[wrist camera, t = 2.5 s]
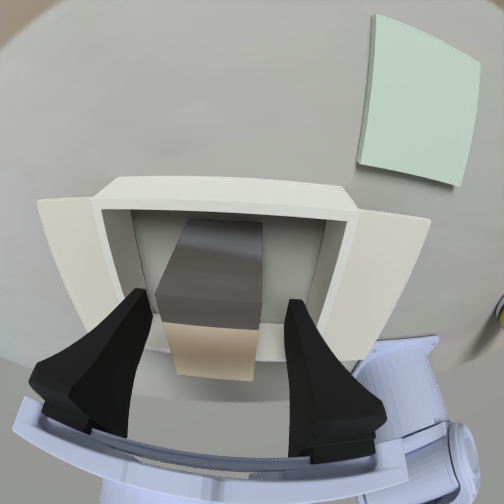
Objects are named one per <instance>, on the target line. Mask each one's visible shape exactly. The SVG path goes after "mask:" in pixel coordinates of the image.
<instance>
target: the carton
mask: <svg viewBox="0 0 504 504" xmlns="http://www.w3.org/2000/svg"><path fill="white" fill-rule="evenodd" d="M37 206H38V210H39V213H40V217H41V220H42V224H43V227H44V230H45V233H46V236H47V239H48V242H49V245H50V248H51V251H52V254H53V256H54V259H55V262H56V264H57V267H58V269H59V272H60V274H61V277H62V279H63V282H64V284H65V286H66V288H67V291H68V293H69V295H70V297H71V300H72V302H73V304H74V306H75V308H76V310H77V312H78V314H79V316H80V318H81V320H82V322H83V324H84V326H85V328H86V329H87V331H88V333H89V332H90V331H91V330H92V329H94V328H95V327H96V326H97V325H98V324H99V323H100V322H101V321H102V320H104V319H105V318H106V317H107V316H108V315H109V314H110V313H111V312H112V311H113V310H114V309H115V308H116V307H117V306H118V305H119V304H120V303H121V302H122V301H123V300H124V299H125V298H126V297H127V296H128V295H129V294H130V293H131V292H132V291H133V290H134V289H135V288H142V289H146V291H147V288H146V284H145V280H144V276H143V271H142V267H141V262H140V258H139V253H138V248H137V243H136V238H135V233H134V228H133V222H132V216H131V210H130V209H143V210H182V211H208V212H229V213H247V214H263V215H278V216H292V217H305V218H317V219H327V221H326V225H325V230H324V235H323V239H322V244H321V248H320V253H319V257H318V261H317V266H316V270H315V274H314V278H313V282H312V286H311V290H310V294H309V298H308V302H307V305H306V308H307V310H308V313H309V315H310V316H311V318H312V320H313V322H314V324H315V326H316V327H317V329H318V331H319V332H320V334H321V336H322V337H323V339H324V341H325V342H326V343H327V345H328V346H329V348H330V349H331V351H332V352H333V353H334V355H335V356H336V357H337V359H338V360H339V361H349V360H364V359H365V358H366V356H367V355H368V353H369V351H370V350H371V348H372V346H373V345H374V343H375V341H376V340H377V338H378V336H379V335H380V333H381V331H382V329H383V327H384V326H385V324H386V322H387V320H388V318H389V317H390V315H391V313H392V311H393V309H394V307H395V305H396V303H397V301H398V299H399V297H400V295H401V293H402V291H403V289H404V287H405V285H406V283H407V281H408V279H409V276H410V274H411V272H412V270H413V267H414V265H415V263H416V260H417V258H418V256H419V253H420V251H421V248H422V246H423V243H424V241H425V238H426V236H427V233H428V230H429V228H430V225H431V221H430V220H429V219H427V218H421V217H414V216H407V215H401V214H394V213H386V212H379V211H371V210H363V209H358V208H357V206H356V205H355V203H354V202H353V201H352V199H351V198H350V197H349V195H348V194H347V192H346V191H345V190H344V188H343V187H341V186H333V185H324V184H315V183H305V182H294V181H283V180H270V179H255V178H236V177H210V176H136V177H118V178H116V179H115V180H114V181H113V182H111V183H110V184H109V185H108V186H106V187H105V188H104V189H103V190H101V191H100V192H99V193H98V194H97V195H95V196H94V197H76V198H55V199H40V200H38V201H37ZM147 295H148V292H147ZM148 299H149V296H148ZM149 303H150V299H149ZM150 306H151V303H150ZM151 310H152V307H151ZM152 313H153V311H152ZM144 349H148V350H154V351H161V352H167V353H171V352H170V348H169V345H168V342H167V338H166V335H165V331H164V328H163V324H162V320H161V317H160V314H154V313H153V320H152V324H151V329H150V333H149V336H148V339H147V341H146V344H145V347H144ZM255 361H273V362H286V356H285V348H284V324H276V323H260V325H259V334H258V342H257V351H256V359H255Z"/></svg>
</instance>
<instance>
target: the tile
mask: <svg viewBox="0 0 504 504" xmlns="http://www.w3.org/2000/svg"><path fill="white" fill-rule="evenodd" d="M479 83H480V63H479V62H477V61H476V60H474V59H472V58H471V57H469V56H468V55H466V54H464V53H463V52H461V51H459V50H457V49H456V48H454V47H452V46H450V45H448V44H447V43H445V42H443V41H441V40H439V39H437V38H435V37H433V36H431V35H429V34H427V33H424V32H422V31H420V30H418V29H415V28H413V27H411V26H408V25H406V24H403V23H401V22H398V21H396V20H393V19H390V18H387V17H385V16H382V15H379V14H375V15H373V16H372V21H371V45H370V60H369V72H368V82H367V91H366V100H365V108H364V116H363V123H362V129H361V136H360V142H359V148H358V154H357V160H356V161H357V162H358V163H359V164H362V165H368V166H373V167H379V168H384V169H389V170H394V171H399V172H403V173H408V174H412V175H417V176H421V177H425V178H429V179H433V180H437V181H441V182H444V183H448V184H452V185H455V186H458V187H460V185H461V182H462V178H463V175H464V171H465V167H466V163H467V159H468V155H469V150H470V145H471V141H472V135H473V130H474V124H475V118H476V111H477V103H478V94H479Z"/></svg>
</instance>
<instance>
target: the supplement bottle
mask: <svg viewBox="0 0 504 504" xmlns="http://www.w3.org/2000/svg"><path fill="white" fill-rule="evenodd" d="M496 317H497V319H498V321H499V322H500V324H501V326H502V327H503V329H504V297H503V298H502V299H501V301H500V303H499V305H498V307H497V310H496Z"/></svg>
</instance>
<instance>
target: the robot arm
mask: <svg viewBox="0 0 504 504" xmlns="http://www.w3.org/2000/svg"><path fill="white" fill-rule="evenodd" d="M152 320H153V313H152V310H151V306H150V303H149V299H148V295H147V291H146V289H142V288H135V289H134V290H133V291H132V292H131V293H130V294H129V295H128V296H127V297H126V298H125V299H124V300H123V301H122V302H121V303H120V304H119V305H118V306H117V307H116V308H115V309H114V310H113V311H112V312H111V313H110V314H109V315H108V316H107V317H106V318H105V319H104V320H102V321H101V322H100V323H99V324H98V325H97V326H96V327H95V328H94V329H92V330H91V331H90V332H89V333H87V334H86V335H85V336H84V337H82V338H81V339H79V340H78V341H77V342H75V343H74V344H72V345H71V346H69V347H68V348H66V349H64V350H62V351H61V352H59V353H57V354H55V355H53V356H51V357H49V358H47V359H45V360H42V361H40V362H38V363H37V364H36V366H35V368H34V370H33V372H32V374H31V377H30V379H29V385H30V386H31V387H32V389H33V390H34V391H35V392H36V393H38V394H39V395H40V396H41V397H42V398H43V399H44V400H45V402H44V405H43V404H42V403H40V402H38V401H37V400H35V399H33V398H31V397H29V396H27V395H25V397H24V399H23V402H22V404H21V407H20V409H19V412H18V415H17V417H16V420H15V423H14V426H13V429H12V430H13V432H15V433H16V434H18V435H19V436H21V437H22V438H24V439H26V440H27V441H29V442H30V443H32V444H34V445H35V446H37V447H39V448H41V449H42V450H44V451H46V452H48V453H50V454H51V455H53V456H55V457H57V458H59V459H61V460H63V461H65V462H67V463H69V464H71V465H74V466H76V467H78V468H81V469H83V470H85V471H87V472H90V473H92V474H95V475H97V476H100V477H102V478H104V479H103V484H102V489H101V495H100V500H99V504H307V503H317V502H324V501H331V500H337V499H343V498H348V497H353V496H356V500H357V502H358V504H471V503H472V502H473V501H474V499H475V498H476V496H477V493H478V490H479V487H480V482H481V478H480V472H479V462H478V455H477V449H476V446H475V442H474V439H473V436H472V434H471V432H470V430H469V428H468V427H467V426H466V425H465V424H462V423H460V422H456V423H453V422H450V420H449V417H448V414H447V410H446V408H445V404H444V401H443V398H442V395H441V392H440V389H439V387H438V384H437V381H436V378H435V375H434V373H433V370H432V367H431V365H430V362H429V360H428V357H427V356H428V355H429V353H430V352H431V351H432V349H433V348H434V347H435V345H436V344H437V343H438V342H439V340H440V338H439V336H428V337H419V338H409V339H398V340H386V341H375V343H374V345H373V346H372V348H371V350H370V351H369V353H368V355H367V356H366V358H365V359H364V360H360V362H359V363H358V365H357V367H356V368H355V370H354V371H353V373H352V374H351V373H350V372H349V371H348V370H347V369H346V368H345V367H344V366H343V365H342V363H341V362H340V361H339V360H338V359H337V357H336V356H335V355H334V353H333V352H332V351H331V349H330V348H329V346H328V345H327V343H326V342H325V341H324V339H323V337H322V336H321V334H320V332H319V331H318V329H317V327H316V326H315V324H314V322H313V320H312V318H311V316H310V315H309V313H308V310H307V308H306V306H305V304H304V302H303V301H302V300H299V299H289V303H288V308H287V313H286V318H285V323H284V348H285V356H286V363H287V371H288V378H289V389H290V426H289V429H290V430H289V452H288V458H245V457H228V456H217V455H206V454H199V453H191V452H185V451H179V450H173V449H168V448H163V447H158V446H153V445H149V444H145V443H141V442H136V441H133V440H129V439H126V438H127V432H128V417H129V407H130V400H131V394H132V388H133V383H134V378H135V374H136V370H137V367H138V364H139V361H140V358H141V355H142V353H143V350H144V347H145V344H146V341H147V339H148V336H149V333H150V329H151V324H152ZM117 450H118V451H117ZM120 451H121V452H120ZM122 452H125V453H128V454H132V455H136V456H139V457H143V458H147V459H152V460H156V461H160V462H165V463H171V464H177V465H181V466H188V467H194V468H202V469H210V470H220V471H233V472H234V471H235V472H260V473H251V474H249V479H240V478H229V477H221V476H213V475H205V474H199V473H193V472H187V471H181V470H175V469H170V468H165V467H160V466H154V465H150V464H145V463H142V462H140V461H138V460H137V459H135V458H134V457H133V456H131V455H128V454H125V453H122Z"/></svg>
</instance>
